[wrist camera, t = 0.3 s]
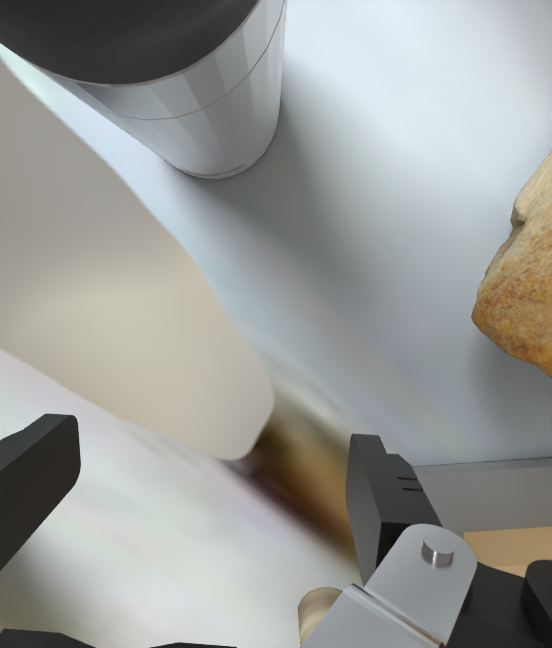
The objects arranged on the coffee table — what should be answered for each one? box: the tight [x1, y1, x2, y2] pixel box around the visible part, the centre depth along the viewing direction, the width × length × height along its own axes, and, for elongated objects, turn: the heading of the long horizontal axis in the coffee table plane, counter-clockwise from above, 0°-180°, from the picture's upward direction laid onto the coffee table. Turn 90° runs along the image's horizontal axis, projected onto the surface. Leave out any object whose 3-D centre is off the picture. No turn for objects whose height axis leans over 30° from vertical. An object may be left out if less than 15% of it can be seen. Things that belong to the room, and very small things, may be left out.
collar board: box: [412, 457, 552, 578], centre depth 32 cm, size 20×20×5 cm
